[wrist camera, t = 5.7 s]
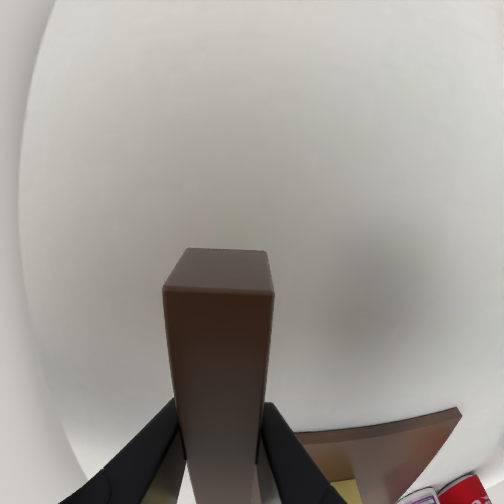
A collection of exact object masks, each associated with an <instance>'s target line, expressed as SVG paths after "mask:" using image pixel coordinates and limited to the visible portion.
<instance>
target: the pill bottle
mask: <svg viewBox="0 0 504 504" xmlns="http://www.w3.org/2000/svg"><path fill="white" fill-rule="evenodd" d="M396 504H441V503H440V501H439V499H438V496H437V494H436V492H435V490H434V489H433V488H426V489H423V490H419V491H417V492H415V493H412V494H410V495H408V496H407V497H405V498H403V499H401V500H400V501H398V502H397V503H396Z"/></svg>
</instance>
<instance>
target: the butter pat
mask: <svg viewBox="0 0 504 504" xmlns="http://www.w3.org/2000/svg"><path fill="white" fill-rule="evenodd" d="M330 483H331V485H333V486H334V488H335V489H336V490H337V491H338V493H339V494H340V495H341V496H342V497H343V499H344V500H345V501H346V502H347V503H348V504H362V501H361V498H360V494H359V490H358V487H357V483H356V480H355V479H351V480H345V481H338V482H330Z"/></svg>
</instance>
